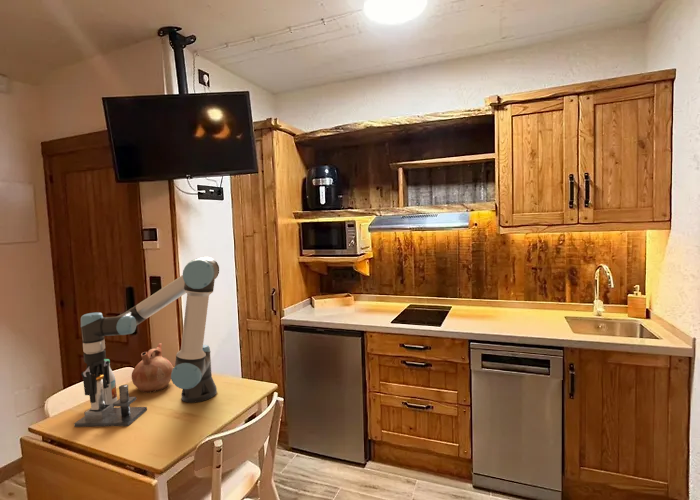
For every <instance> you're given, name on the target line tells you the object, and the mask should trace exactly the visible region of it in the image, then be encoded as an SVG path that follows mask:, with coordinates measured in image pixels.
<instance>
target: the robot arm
mask: <svg viewBox="0 0 700 500" xmlns="http://www.w3.org/2000/svg"><path fill="white" fill-rule="evenodd" d="M219 274H220V265H219V263H218V262H217V260H216V259H214V258H212V257H209V256H202V257H199V258H194V259H192V260H191V261H189V262H188V263H186V265H185V266H184V268H183V270H182V275H181V276H179V277H178V278H176V279H174V280H173V281H171V282H169V283H168V284H167V285H165V286H163V287H162V288H160V289H159V290H157V291H156V292H154V293H153V294H152V295H149V296H148V297H146V298H145V299H143V300H142V301H140V302H139V303H137V304H136V305H134V306H133V307H131V308H129V309H128V310H127V311H125V312H123V313H121V314H119V315H117V316H110V317H104V316H103V313H102V312H99V311H98V312H97V311H96V312H89V313H85V314H83V315H81V317H80V329H81V338H82V341H81V342H82V350H83V362H84V363H85V364H86V366H85V367H86V369H85V371H82V372H81V373H80V375H81V377H82V381H83V390H84V391H83V392H84V396H89V402H90V408H91V410H98V409H99V401H98V393H96V386H97V381H96V378H97V377H98V374H103V375H104V378H103V388H104V400H105V404H107V397H106V394H107V392H106V388H108V387H109V385H108V384H110V378H109V366H110V365H109V361H104V359H107V355H106V351H107V350H106V344H105V343H106V341H105V337H111V336H126V335H132V334H133V333H135V332H136V330H137V326H138V325H140V324H141V323H143V322H144V321H146V320H147V319H149V317H151V316H153V315H154V314H156V313H158V312H159V311H161V310H162V309H164V308H165V307H167V306H168V305H170V304H171V303H173V302H174V301H176V300H178V299H179V298H181V297H182V296H184V295H185V294H186V303H185V311H184V317H183V318H184V320H183V326H182V328H183V329H182V336H181V346H180V350H179V351H177V352H176V354H175V361H174V362H175V363H174V366H173V370H172V373H171V380H170V381H171V382H172V384H173V385H174V386H175V387H177V388H179V389H180V390H182V391H181V395H180V396H181V400H182V401H183V402H185V403H189V404H190V403H193V404H194V403H200V402H204V401H207V400H210V399H212V398H213V397H215V396H216V395H217V392H218V391H217V385H216V383H215V380H214V379H213V377H212V359H211V349H210V346H209V345H208V344H204V341H205V333H206V332H205V331H206V325H207V324H206V323H207V315H208V306H209V298H210V295H211V294H212V293H214V289H215V280H216V279H217V278H218V277H219ZM106 381H107V382H106Z"/></svg>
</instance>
